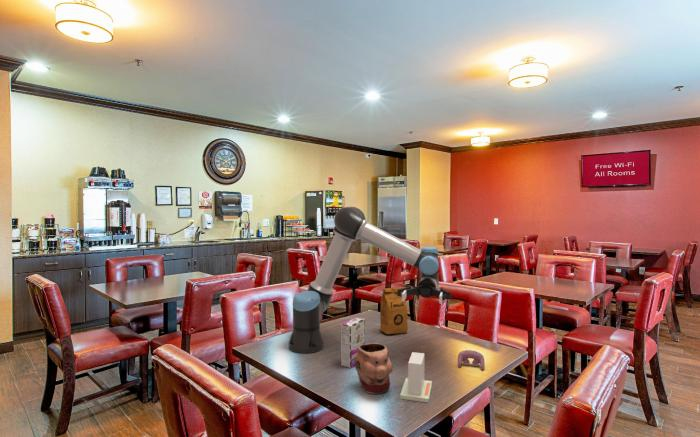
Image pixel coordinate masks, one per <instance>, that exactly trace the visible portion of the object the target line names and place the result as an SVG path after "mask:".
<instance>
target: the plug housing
mask: <svg viewBox="0 0 700 437" xmlns="http://www.w3.org/2000/svg"><path fill="white" fill-rule="evenodd" d="M425 356H426V355H425V353H424V352H415V351H412V352H411V355H410V357H409V360H408V366H407V367H408V368H407V369H408V370H407V372H408V373H407V374H408V375H407V378H408V394H416V395H421V394H422V390H423V386H424V380H425Z"/></svg>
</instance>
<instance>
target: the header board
mask: <svg viewBox="0 0 700 437" xmlns="http://www.w3.org/2000/svg"><path fill="white" fill-rule="evenodd" d="M432 387H433V380H427V379H426V380H425V379H424V386H423V390H422V394H421V395H416V394H408V377H405V380H404V382H403V385H402V388H401V392H400V394H399V399H400V400H407V401H412V402H421V403H429V402H430V397H431V392H432Z"/></svg>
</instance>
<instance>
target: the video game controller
mask: <svg viewBox="0 0 700 437" xmlns="http://www.w3.org/2000/svg"><path fill="white" fill-rule="evenodd" d="M469 359H473V360H472V362H470V360H469ZM462 363H463V364H464V365H465V366H470V363H472V366H473V367H478V366H480V369H481V370H482V371H484V370H485V357H484V355H483V354H482V353H480V352H478V351H476V350H469V349H468V350H467V349H466V350H461V351H460V352H458V355H457V366H458V368H461V367H462V365H463V364H462Z"/></svg>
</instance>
